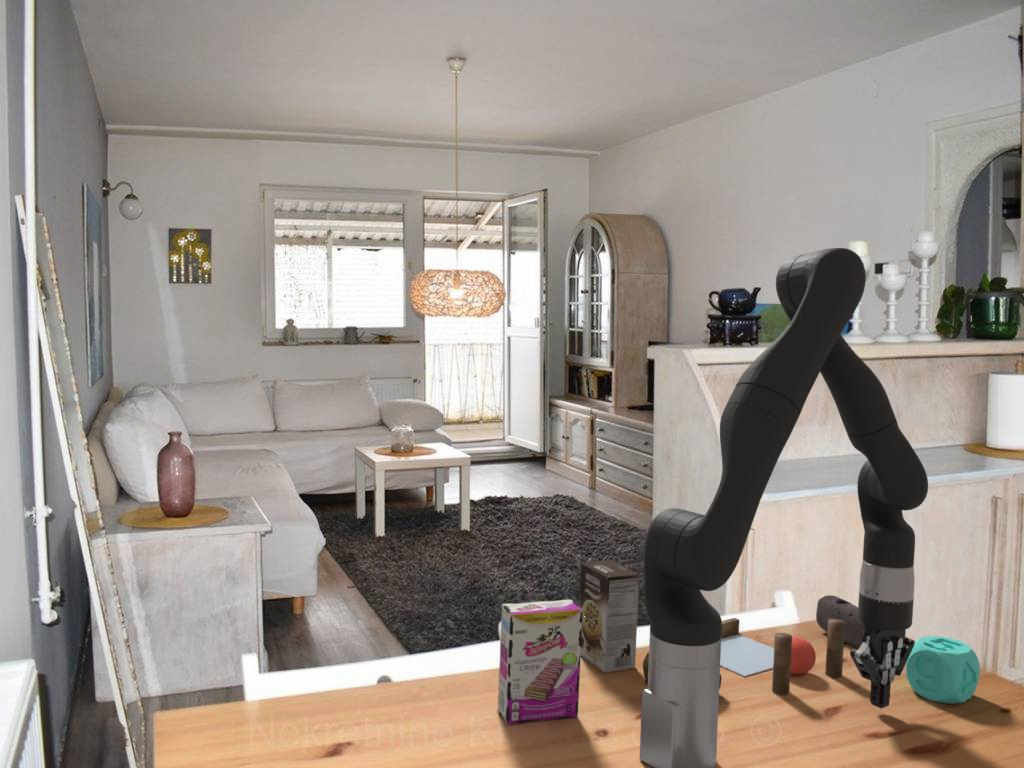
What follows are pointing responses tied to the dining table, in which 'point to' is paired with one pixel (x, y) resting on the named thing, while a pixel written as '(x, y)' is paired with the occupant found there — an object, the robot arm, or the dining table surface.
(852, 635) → the perforated stone tool
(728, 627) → the stopper rail
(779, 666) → the post left
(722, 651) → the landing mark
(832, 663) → the post right
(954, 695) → the decorative dice
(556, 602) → the candy bar box
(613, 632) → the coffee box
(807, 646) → the ball
